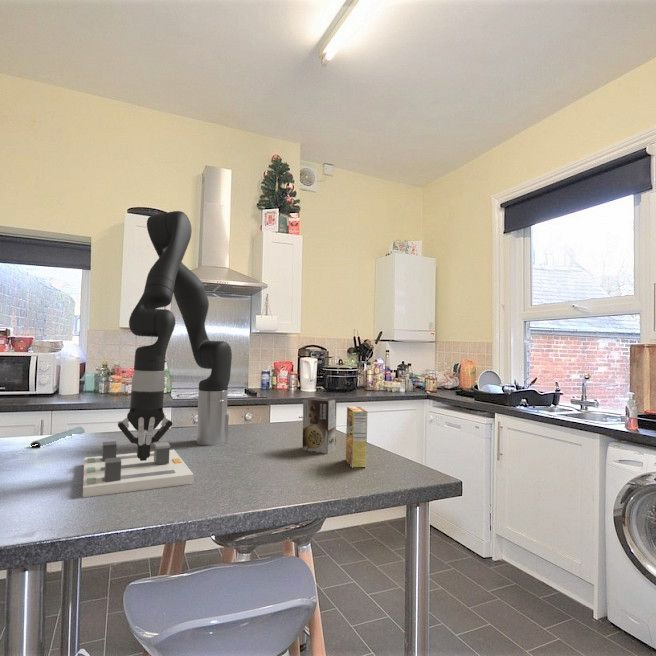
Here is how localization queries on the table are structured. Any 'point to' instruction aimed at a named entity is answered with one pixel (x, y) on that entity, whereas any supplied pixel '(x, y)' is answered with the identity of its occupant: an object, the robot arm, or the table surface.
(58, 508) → the table surface
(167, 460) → the block
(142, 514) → the table surface
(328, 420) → the cookie box
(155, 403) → the robot arm
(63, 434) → the aluminum foil
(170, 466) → the breaker panel
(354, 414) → the candy box
